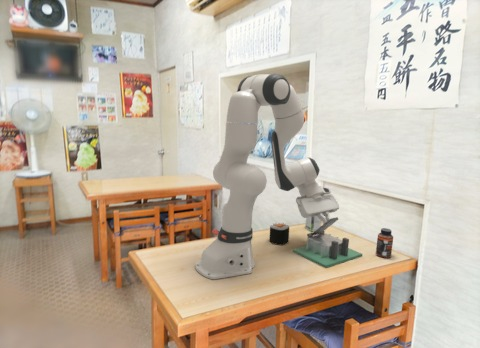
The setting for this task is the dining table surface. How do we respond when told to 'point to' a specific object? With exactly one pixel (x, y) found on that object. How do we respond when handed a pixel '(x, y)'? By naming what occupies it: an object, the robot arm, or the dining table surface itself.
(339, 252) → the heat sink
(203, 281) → the dining table surface
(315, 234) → the steel strap
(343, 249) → the posts
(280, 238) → the sushi
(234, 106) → the robot arm
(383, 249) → the supplement bottle
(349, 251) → the circuit board
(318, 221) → the syrup box
